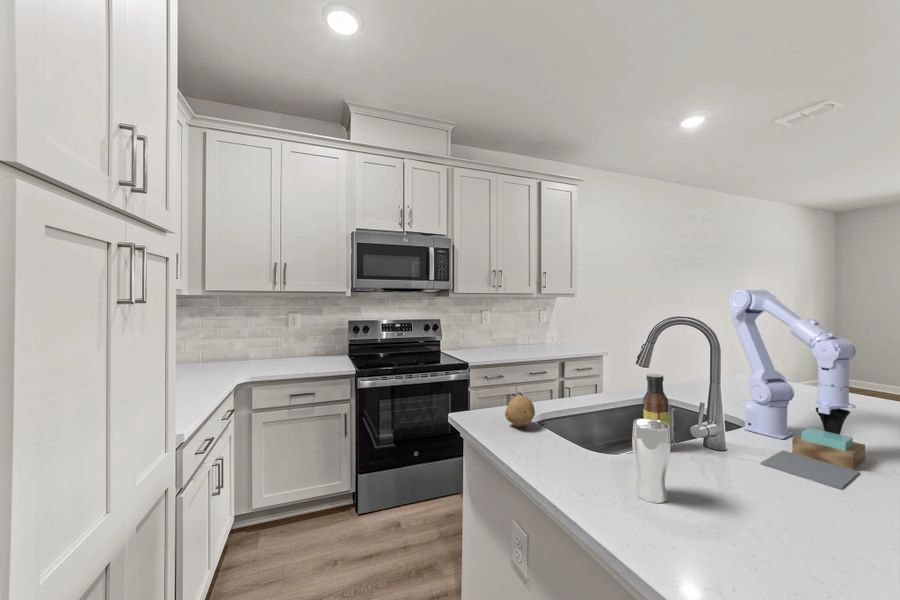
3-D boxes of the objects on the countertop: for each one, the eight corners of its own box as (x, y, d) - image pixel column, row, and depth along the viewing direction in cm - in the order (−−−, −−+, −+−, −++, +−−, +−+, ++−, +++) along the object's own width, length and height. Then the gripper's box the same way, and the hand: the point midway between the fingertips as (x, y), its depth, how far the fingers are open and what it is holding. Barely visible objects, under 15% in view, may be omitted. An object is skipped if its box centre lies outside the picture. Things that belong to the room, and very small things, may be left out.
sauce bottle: (667, 444, 103) (667, 373, 103) (672, 453, 97) (673, 378, 97) (641, 441, 105) (641, 371, 105) (644, 450, 100) (645, 376, 99)
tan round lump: (540, 431, 113) (540, 399, 113) (513, 434, 111) (513, 401, 111) (527, 421, 122) (527, 391, 122) (502, 424, 120) (502, 393, 120)
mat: (760, 464, 91) (760, 462, 91) (782, 451, 99) (782, 450, 99) (841, 489, 79) (841, 487, 79) (859, 473, 87) (859, 471, 87)
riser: (792, 453, 97) (792, 438, 97) (806, 445, 103) (806, 430, 103) (852, 470, 88) (853, 453, 88) (865, 460, 93) (865, 444, 93)
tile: (801, 439, 97) (801, 432, 97) (809, 435, 100) (809, 427, 100) (845, 450, 90) (845, 442, 90) (852, 445, 93) (852, 437, 93)
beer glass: (669, 508, 73) (670, 432, 72) (630, 498, 76) (630, 425, 76) (670, 492, 78) (670, 421, 78) (633, 483, 82) (634, 415, 82)
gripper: (846, 392, 90) (846, 448, 90) (863, 384, 97) (862, 436, 97) (807, 385, 96) (806, 438, 96) (825, 379, 103) (825, 427, 103)
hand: (832, 436), depth 97 cm, fingers closed
